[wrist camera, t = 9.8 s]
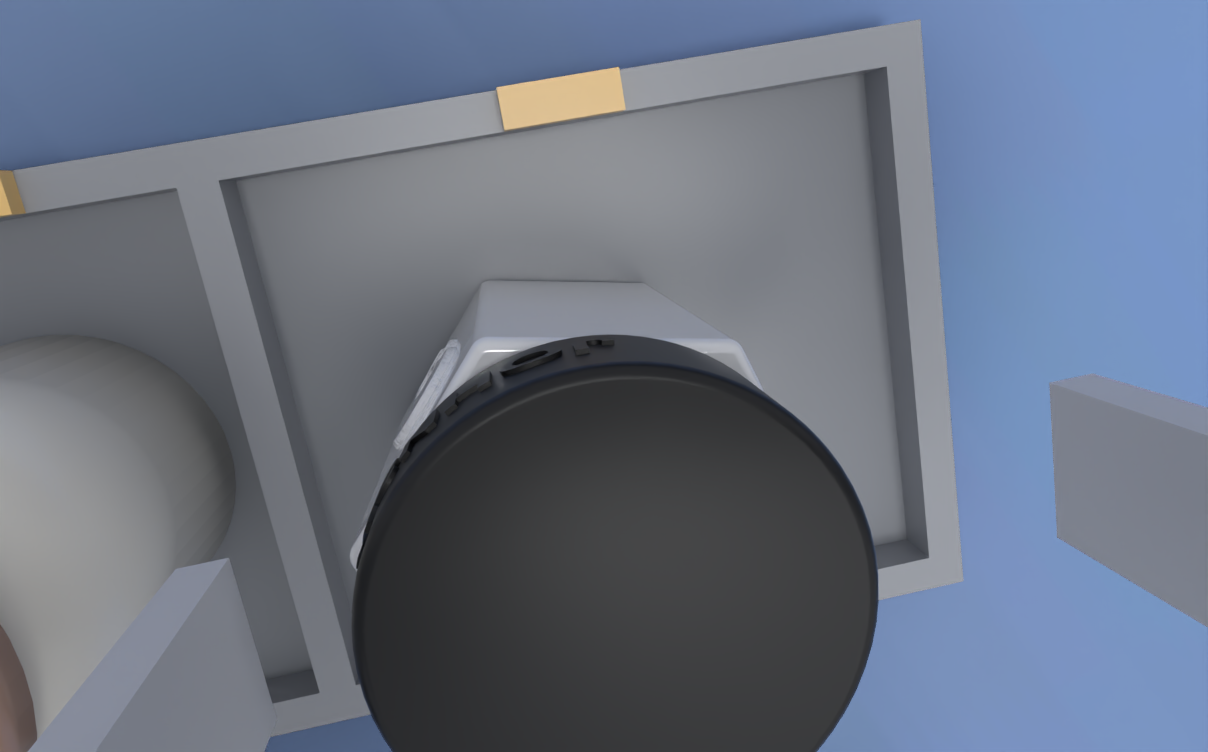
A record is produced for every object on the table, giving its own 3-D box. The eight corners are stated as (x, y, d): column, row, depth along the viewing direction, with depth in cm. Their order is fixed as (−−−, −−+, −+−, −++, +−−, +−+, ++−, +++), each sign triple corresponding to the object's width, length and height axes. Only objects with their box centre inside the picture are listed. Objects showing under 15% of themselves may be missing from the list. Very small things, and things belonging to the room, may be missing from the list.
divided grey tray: (-34, 766, 25) (-93, 831, 23) (-255, 223, 21) (-356, 228, 19) (930, 553, 28) (974, 590, 25) (885, 33, 24) (932, 14, 21)
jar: (518, 204, 23) (544, 223, 11) (761, 354, 25) (1000, 504, 13) (356, 480, 24) (227, 756, 12) (600, 604, 26) (688, 948, 14)
